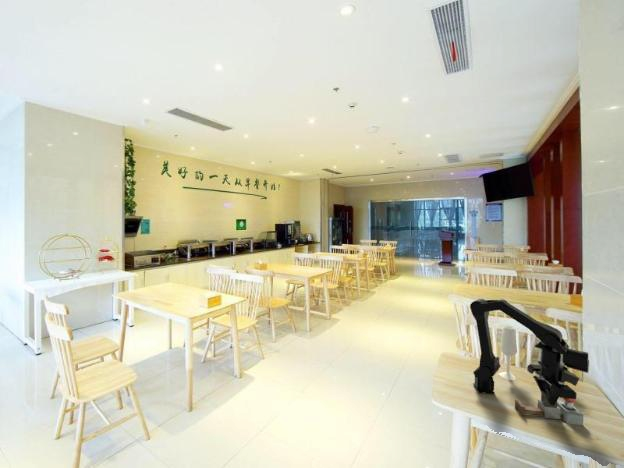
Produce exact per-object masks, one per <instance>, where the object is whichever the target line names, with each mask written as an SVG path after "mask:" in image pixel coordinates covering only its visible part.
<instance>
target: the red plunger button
mask: <svg viewBox="0 0 624 468" xmlns="http://www.w3.org/2000/svg"><path fill="white" fill-rule="evenodd" d="M562 400H563V402H564V408H565V409H566V410H572V411H573V406H574V404H575V403H576V402H577V401H576V400H577V398H576V399H569V398H562ZM574 407H575V406H574Z"/></svg>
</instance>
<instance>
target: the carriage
mask: <svg viewBox="0 0 624 468" xmlns="http://www.w3.org/2000/svg"><path fill="white" fill-rule="evenodd" d="M540 394H541V396H540V399H537V407H540V408H541V409H542V410H543V411H544V417H543V418H545V419H552V420H561V419H560V408H559V407H558V406H557V402H556V403H555V405H554V406H553V405H550V402H549V399H548V396H547V393H546V391H540Z"/></svg>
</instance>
